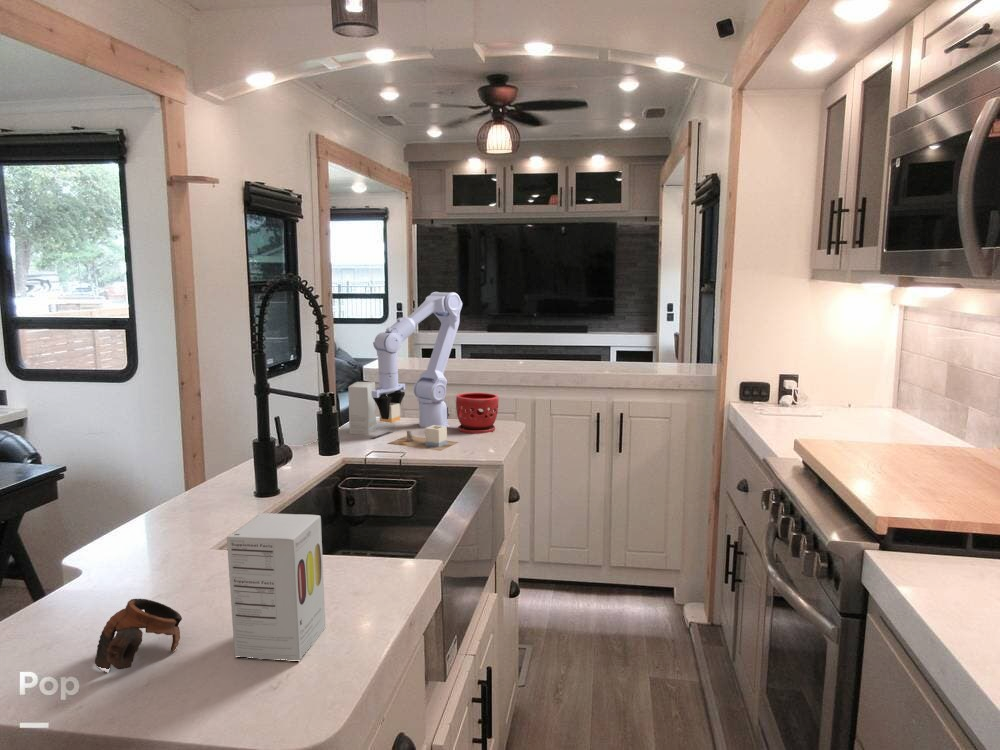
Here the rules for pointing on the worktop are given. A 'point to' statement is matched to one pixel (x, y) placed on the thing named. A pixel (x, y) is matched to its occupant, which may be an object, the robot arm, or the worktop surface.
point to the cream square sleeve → (392, 413)
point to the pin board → (418, 442)
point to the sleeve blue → (436, 435)
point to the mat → (381, 435)
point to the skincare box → (362, 408)
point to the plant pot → (476, 412)
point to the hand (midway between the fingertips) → (390, 417)
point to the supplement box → (276, 585)
